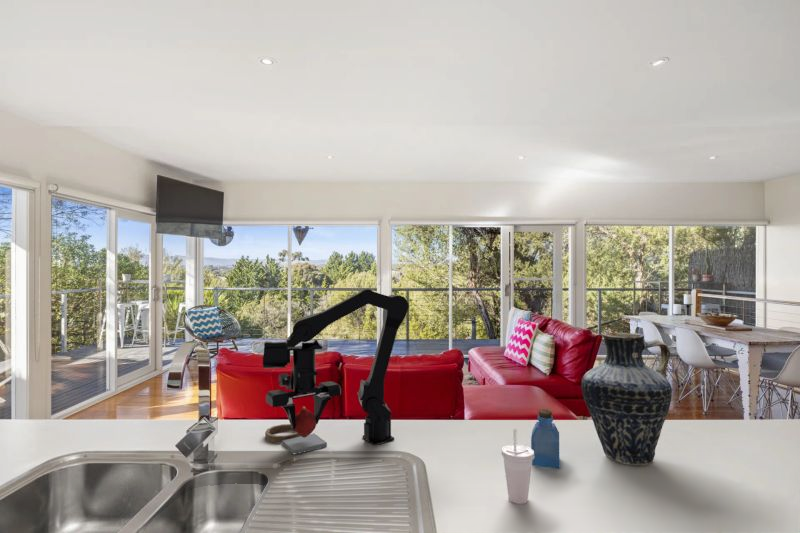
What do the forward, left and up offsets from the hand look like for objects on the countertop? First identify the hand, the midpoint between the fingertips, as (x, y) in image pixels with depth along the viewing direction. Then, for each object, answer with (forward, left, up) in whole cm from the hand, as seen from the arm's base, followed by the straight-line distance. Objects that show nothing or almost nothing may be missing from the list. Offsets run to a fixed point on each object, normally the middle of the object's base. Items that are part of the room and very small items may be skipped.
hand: (304, 426), depth 118 cm
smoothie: (-24, +50, -5) cm, 56 cm away
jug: (-61, +52, -5) cm, 81 cm away
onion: (0, 0, -3) cm, 3 cm away
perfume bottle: (-43, +42, -5) cm, 61 cm away
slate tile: (0, 0, -5) cm, 5 cm away
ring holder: (+2, -10, -5) cm, 11 cm away
